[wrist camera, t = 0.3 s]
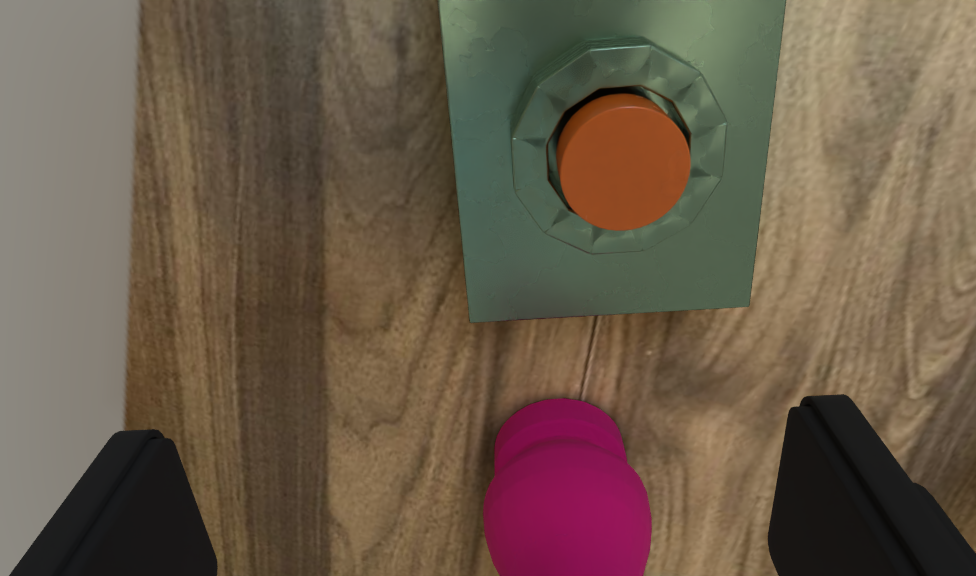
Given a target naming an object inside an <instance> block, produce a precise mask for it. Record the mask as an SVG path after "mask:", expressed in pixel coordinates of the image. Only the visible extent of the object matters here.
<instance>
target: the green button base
mask: <svg viewBox="0 0 976 576" xmlns="http://www.w3.org/2000/svg"><path fill="white" fill-rule="evenodd" d="M785 6H786V0H438V9H439V19H440V29H441V39H442V50H443V60H444V70H445V80H446V90H447V100H448V110H449V120H450V130H451V140H452V150H453V160H454V170H455V180H456V190H457V200H458V210H459V220H460V230H461V240H462V250H463V260H464V270H465V280H466V290H467V300H468V310H469V320H470V323H477V322H494V321H511V320H528V319H546V318H563V317H580V316H598V315H615V314H632V313H649V312H667V311H684V310H701V309H719V308H736V307H749V305H750V297H751V288H752V280H753V272H754V263H755V255H756V247H757V239H758V230H759V222H760V214H761V205H762V197H763V189H764V180H765V172H766V164H767V156H768V147H769V139H770V131H771V122H772V114H773V106H774V97H775V89H776V81H777V72H778V64H779V56H780V48H781V39H782V31H783V23H784V14H785ZM617 93H627V94H635V95H638V96H642V97H644V98H647V99H649V100H651V101H652V102H654V103H656V104H657V105H658V106H659V107H661V108H662V109H663V110H664V111H665V112H666V114H667V115H668V116H669V117H670V118H671V119H672V121H673V122H674V123H675V124H676V125H677V126H678V128H679V129H680V130H681V132H682V133H683V135H684V137H685V139H686V141H687V144H688V147H689V151H690V158H691V167H690V174H689V178H688V182H687V185H686V187H685V189H684V191H683V193H682V195H681V197H680V198H679V200H678V201H677V202H676V204H675V205H674V206H673V207H672V208H671V209H670V210H669V211H668V212H667V213H666V214H665V215H663V216H662V217H661V218H659V219H658V220H656V221H654V222H652V223H650V224H648V225H646V226H643V227H641V228H637V229H633V230H625V231H615V230H607V229H603V228H599V227H597V226H594V225H592V224H590V223H588V222H586V221H585V220H583V219H582V218H581V217H579V216H578V215H577V214H576V213H575V212H574V211H573V209H572V208H571V207H570V205H569V204H568V202H567V200H566V199H565V196H564V194H563V191H562V187H561V183H560V179H559V175H558V170H557V166H556V150H557V144H558V141H559V137H560V135H561V133H562V130H563V128H564V127H565V125H566V124H567V122H568V121H569V119H570V118H571V117H572V116H573V115H574V114H575V113H576V112H577V111H578V110H579V109H580V108H581V107H583V106H584V105H586V104H587V103H589V102H591V101H592V100H595V99H597V98H599V97H602V96H606V95H610V94H617Z"/></svg>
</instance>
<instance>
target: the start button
mask: <svg viewBox="0 0 976 576" xmlns="http://www.w3.org/2000/svg"><path fill="white" fill-rule="evenodd" d="M556 166H557V170H558V175H559V179H560V183H561V187H562V191H563V194H564V196H565V199H566V200H567V202H568V204H569V205H570V207H571V208H572V209H573V211H574V212H575V213H576V214H577V215H578V216H579V217H581V218H582V219H583V220H585V221H586V222H588V223H590V224H592V225H594V226H597V227H599V228H603V229H607V230H615V231H625V230H633V229H637V228H641V227H643V226H646V225H648V224H650V223H652V222H654V221H656V220H658V219H659V218H661V217H662V216H663V215H665V214H666V213H667V212H668V211H669V210H670V209H671V208H672V207H673V206H674V205H675V204H676V202H677V201H678V200H679V198H680V197H681V195H682V193H683V191H684V189H685V187H686V185H687V182H688V178H689V174H690V167H691V158H690V151H689V147H688V144H687V141H686V139H685V137H684V135H683V133H682V132H681V130H680V129H679V128H678V126H677V125H676V124H675V123H674V122H673V121H672V119H671V118H670V117H669V116H668V115H667V114H666V112H665V111H664V110H663V109H662V108H661V107H659V106H658V105H657V104H656V103H654V102H652V101H651V100H649V99H647V98H644V97H642V96H638V95H635V94H627V93H617V94H610V95H606V96H602V97H599V98H597V99H595V100H592V101H591V102H589V103H587V104H586V105H584V106H583V107H581V108H580V109H579V110H578V111H577V112H576V113H575V114H574V115H573V116H572V117H571V118H570V119H569V121H568V122H567V124H566V125H565V127H564V128H563V130H562V133H561V135H560V137H559V141H558V144H557V150H556Z"/></svg>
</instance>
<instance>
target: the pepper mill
mask: <svg viewBox="0 0 976 576" xmlns="http://www.w3.org/2000/svg"><path fill="white" fill-rule="evenodd" d="M494 454H495V477H494V478H493V480H492V481H491V483H490V485H489V487H488V490H487V492H486V495H485V500H484V508H483V518H484V531H485V537H486V541H487V545H488V549H489V552H490V555H491V558H492V561H493V564H494V566H495V568H496V570H497V572H498V573H499V575H500V576H643V574H644V570H645V566H646V563H647V559H648V555H649V551H650V543H651V531H652V526H651V513H650V507H649V501H648V496H647V492H646V490H645V487H644V485H643V483H642V481H641V479H640V477H639V476H638V474H637V473H636V472H635V470H634V469H633V468H632V467H631V466H630V465H629V464H628V463H627V457H626V453H625V449H624V445H623V441H622V437H621V434H620V431H619V429H618V427H617V426H616V424H615V422H614V421H613V420H612V419H611V418H610V417H609V416H608V415H607V414H606V413H605V412H603V411H602V410H600V409H599V408H597V407H595V406H593V405H590V404H588V403H586V402H583V401H579V400H573V399H566V398H562V399H547V400H543V401H540V402H536V403H533V404H530V405H528V406H526V407H524V408H523V409H521V410H519V411H517V412H516V413H515V414H514V415H513V416H511V417H510V418H509V419H508V420H507V421H506V422H505V423H504V425H503V426H502V428H501V429H500V431H499V433H498V435H497V438H496V441H495V448H494Z"/></svg>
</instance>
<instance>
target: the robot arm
mask: <svg viewBox="0 0 976 576" xmlns="http://www.w3.org/2000/svg"><path fill="white" fill-rule="evenodd" d="M768 546H769V551H770V555H771V559H772V561H773V564H774V566H775V568H776V571H777V573H778V575H779V576H976V553H975V552H974V551H973V549H972V548H971V547H970V545H969V544H968V543H967V541H966V540H965V539H964V537H963V536H962V535H961V533H960V532H959V531H958V529H957V528H956V527H955V525H954V524H953V523H952V521H951V520H950V519H949V517H948V516H947V515H946V513H945V512H944V511H943V509H942V508H941V507H940V505H939V504H938V503H937V501H936V500H935V499H934V497H933V496H932V495H931V494H930V493H929V492H928V491H927V490H926V489H925V488H924V487H923V486H921V485H919V484H917V483H913V482H912V481H911V480H910V478H909V477H908V476H907V474H906V473H905V472H904V470H903V469H902V467H901V466H900V465H899V463H898V462H897V461H896V459H895V458H894V457H893V455H892V454H891V452H890V451H889V450H888V448H887V447H886V446H885V444H884V443H883V442H882V440H881V439H880V437H879V436H878V435H877V433H876V432H875V431H874V429H873V428H872V427H871V425H870V424H869V423H868V421H867V420H866V418H865V417H864V416H863V414H862V413H861V412H860V410H859V409H858V408H857V406H856V405H855V403H854V402H853V401H852V400H851V399H850V398H849V397H848V396H846V395H844V394H842V395H823V396H806V397H804V398H803V399H802V401H801V403H800V406H799V407H792V408H791V409H790V410H789V413H788V418H787V424H786V430H785V436H784V442H783V448H782V454H781V460H780V466H779V472H778V478H777V484H776V490H775V496H774V502H773V508H772V514H771V520H770V526H769V532H768ZM9 576H217V559H216V555H215V553H214V550H213V547H212V544H211V542H210V539H209V536H208V533H207V531H206V528H205V525H204V523H203V520H202V517H201V514H200V512H199V509H198V506H197V503H196V501H195V498H194V495H193V492H192V490H191V487H190V484H189V482H188V479H187V476H186V473H185V471H184V468H183V465H182V462H181V460H180V457H179V454H178V452H177V449H176V446H175V444H174V442H173V441H172V440H171V439H169V438H164V436H163V434H162V433H161V432H160V431H159V430H154V429H152V430H132V431H119V432H117V433H115V434H114V435H113V436H112V437H111V438H110V439H109V440H108V442H107V443H106V445H105V446H104V448H103V449H102V450H101V451H100V453H99V454H98V455H97V457H96V458H95V460H94V461H93V462H92V464H91V465H90V466H89V468H88V469H87V471H86V472H85V473H84V474H83V476H82V477H81V479H80V480H79V481H78V483H77V484H76V485H75V487H74V488H73V489H72V491H71V492H70V494H69V495H68V496H67V498H66V499H65V500H64V502H63V503H62V505H61V506H60V507H59V509H58V510H57V511H56V513H55V514H54V515H53V517H52V518H51V519H50V521H49V522H48V523H47V525H46V526H45V527H44V529H43V530H42V532H41V533H40V534H39V536H38V537H37V538H36V540H35V541H34V543H33V544H32V545H31V547H30V548H29V549H28V551H27V552H26V553H25V555H24V556H23V557H22V559H21V560H20V562H19V563H18V564H17V566H16V567H15V568H14V570H13V571H12V572H11V574H10V575H9Z"/></svg>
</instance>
